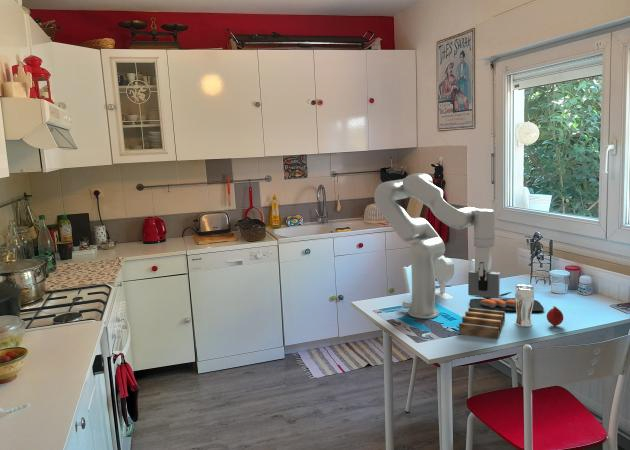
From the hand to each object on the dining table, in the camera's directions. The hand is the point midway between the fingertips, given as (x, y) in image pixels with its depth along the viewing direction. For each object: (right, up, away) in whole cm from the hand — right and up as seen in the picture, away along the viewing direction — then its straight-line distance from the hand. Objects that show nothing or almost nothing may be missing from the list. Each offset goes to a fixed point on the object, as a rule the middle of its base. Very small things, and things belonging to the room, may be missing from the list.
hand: (483, 288), depth 198 cm
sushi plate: (+19, -10, +33) cm, 39 cm away
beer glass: (+17, -15, +4) cm, 23 cm away
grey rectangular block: (0, -3, 0) cm, 3 cm away
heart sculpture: (-5, -9, +46) cm, 47 cm away
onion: (+28, -15, +1) cm, 31 cm away
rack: (0, -15, +3) cm, 16 cm away
